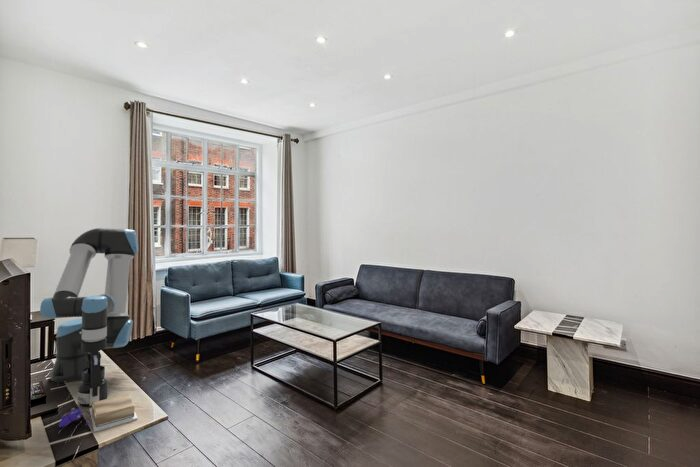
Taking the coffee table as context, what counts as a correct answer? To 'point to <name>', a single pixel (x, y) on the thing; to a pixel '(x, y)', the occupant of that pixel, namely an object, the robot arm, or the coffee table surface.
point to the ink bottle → (86, 382)
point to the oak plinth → (112, 409)
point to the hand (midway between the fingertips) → (92, 398)
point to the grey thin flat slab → (112, 423)
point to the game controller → (71, 417)
